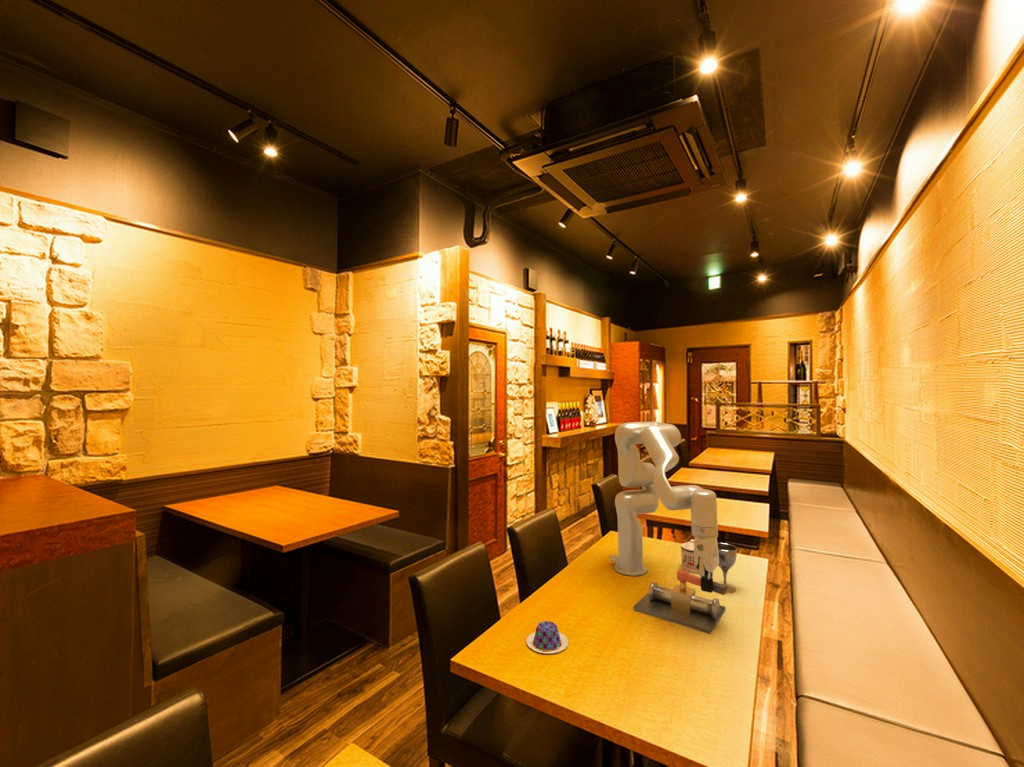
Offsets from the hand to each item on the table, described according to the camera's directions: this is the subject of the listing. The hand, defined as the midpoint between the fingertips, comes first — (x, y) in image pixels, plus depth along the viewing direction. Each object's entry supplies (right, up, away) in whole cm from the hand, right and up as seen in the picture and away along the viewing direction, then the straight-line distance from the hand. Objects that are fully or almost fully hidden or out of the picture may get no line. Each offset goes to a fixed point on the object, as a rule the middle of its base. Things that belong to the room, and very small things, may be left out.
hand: (707, 590), depth 138 cm
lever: (0, -1, +5) cm, 5 cm away
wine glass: (+17, -11, +25) cm, 32 cm away
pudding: (-50, -12, -9) cm, 52 cm away
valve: (-5, -11, +9) cm, 15 cm away
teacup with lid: (+14, -11, +41) cm, 45 cm away
